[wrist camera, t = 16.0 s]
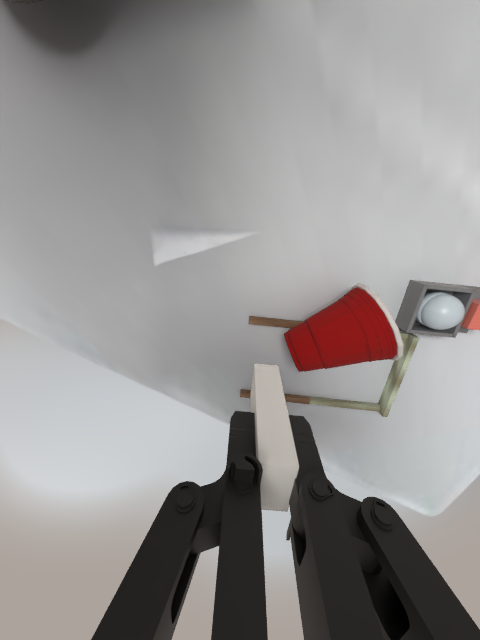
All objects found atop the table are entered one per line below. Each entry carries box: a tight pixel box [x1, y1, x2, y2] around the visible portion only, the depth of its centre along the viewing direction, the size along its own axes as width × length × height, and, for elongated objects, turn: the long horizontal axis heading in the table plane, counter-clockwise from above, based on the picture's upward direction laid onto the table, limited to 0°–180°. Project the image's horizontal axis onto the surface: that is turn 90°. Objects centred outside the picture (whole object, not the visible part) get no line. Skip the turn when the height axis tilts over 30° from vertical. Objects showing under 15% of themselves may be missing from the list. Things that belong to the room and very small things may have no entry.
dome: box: [415, 291, 465, 330], centre depth 32 cm, size 5×5×5 cm
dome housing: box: [395, 280, 480, 338], centre depth 33 cm, size 7×11×4 cm, turn 85°
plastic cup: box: [284, 283, 403, 372], centre depth 32 cm, size 11×11×12 cm
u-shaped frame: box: [240, 316, 419, 417], centre depth 38 cm, size 15×25×2 cm, turn 85°
